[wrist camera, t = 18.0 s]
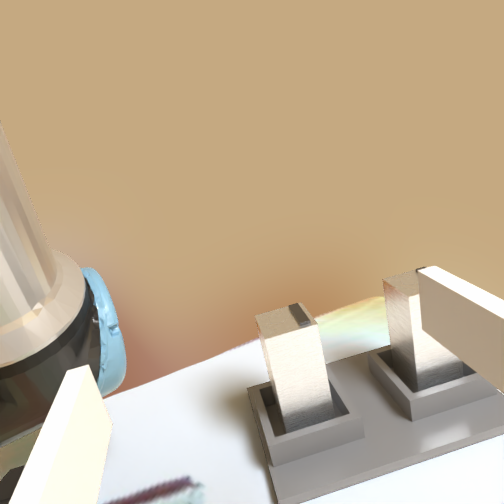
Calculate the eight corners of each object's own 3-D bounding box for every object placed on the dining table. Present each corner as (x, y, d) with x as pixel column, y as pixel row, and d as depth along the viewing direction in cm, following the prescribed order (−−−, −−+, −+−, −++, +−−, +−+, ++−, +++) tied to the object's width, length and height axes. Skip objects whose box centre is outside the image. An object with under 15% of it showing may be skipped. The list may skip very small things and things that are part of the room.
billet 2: (419, 402, 40) (408, 294, 37) (394, 374, 45) (382, 276, 41) (464, 387, 41) (457, 280, 37) (434, 362, 46) (425, 264, 42)
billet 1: (289, 444, 39) (263, 336, 35) (277, 411, 44) (253, 313, 40) (337, 429, 39) (317, 321, 36) (320, 398, 44) (300, 299, 40)
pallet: (280, 509, 34) (272, 478, 33) (248, 394, 49) (242, 371, 48) (530, 424, 36) (530, 393, 35) (426, 340, 51) (424, 316, 50)
